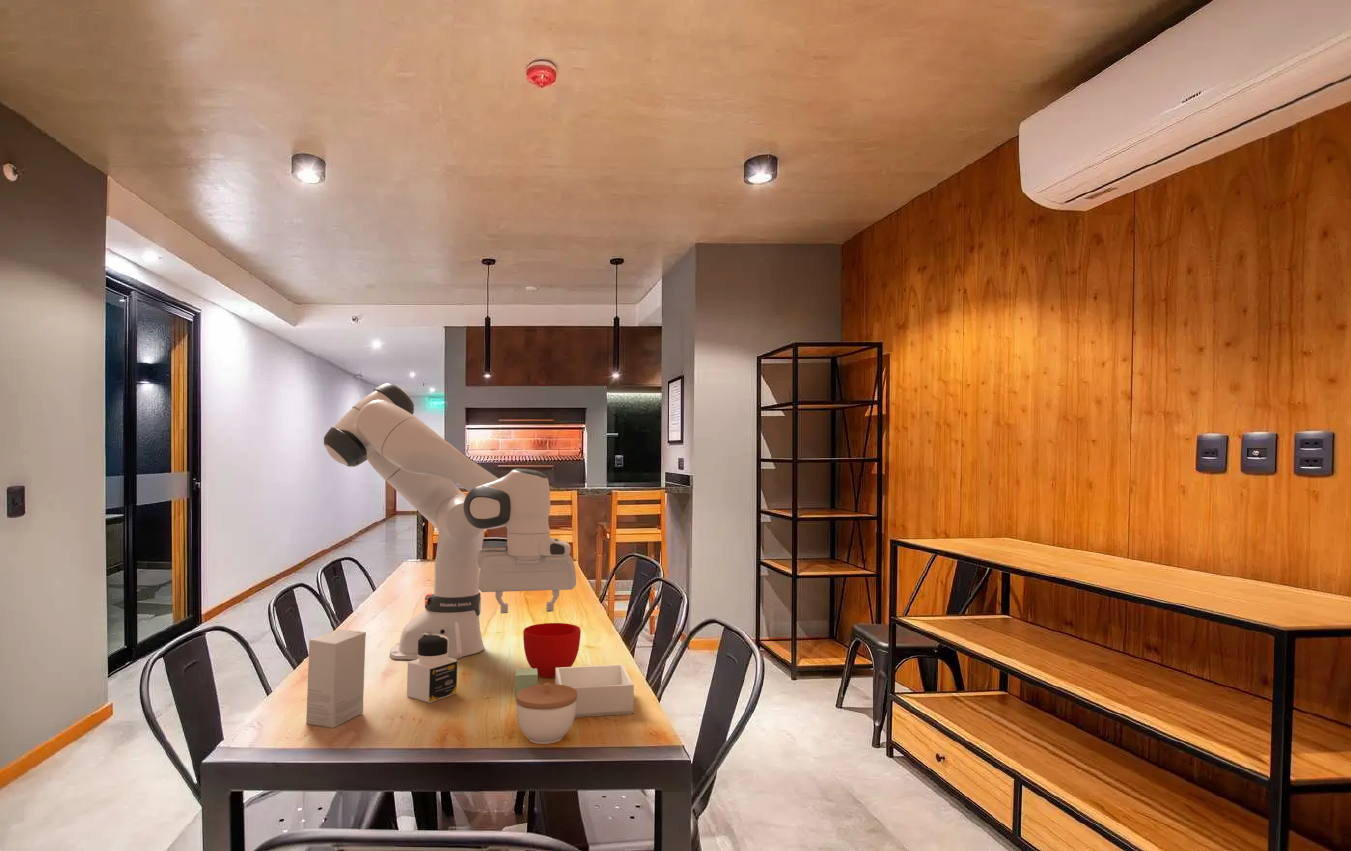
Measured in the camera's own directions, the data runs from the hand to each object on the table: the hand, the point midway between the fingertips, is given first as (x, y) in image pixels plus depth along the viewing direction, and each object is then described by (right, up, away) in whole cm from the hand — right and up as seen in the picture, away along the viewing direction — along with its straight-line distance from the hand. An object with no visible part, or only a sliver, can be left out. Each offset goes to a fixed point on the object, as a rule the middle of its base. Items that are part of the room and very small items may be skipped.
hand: (527, 612), depth 153 cm
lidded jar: (+8, -16, -24) cm, 30 cm away
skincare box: (-32, -16, -17) cm, 40 cm away
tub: (+15, -17, -7) cm, 23 cm away
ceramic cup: (+2, -18, +15) cm, 24 cm away
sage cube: (0, -17, -1) cm, 17 cm away
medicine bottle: (-19, -17, -3) cm, 26 cm away
